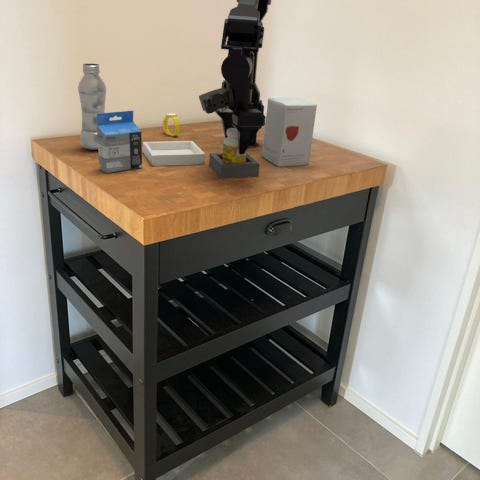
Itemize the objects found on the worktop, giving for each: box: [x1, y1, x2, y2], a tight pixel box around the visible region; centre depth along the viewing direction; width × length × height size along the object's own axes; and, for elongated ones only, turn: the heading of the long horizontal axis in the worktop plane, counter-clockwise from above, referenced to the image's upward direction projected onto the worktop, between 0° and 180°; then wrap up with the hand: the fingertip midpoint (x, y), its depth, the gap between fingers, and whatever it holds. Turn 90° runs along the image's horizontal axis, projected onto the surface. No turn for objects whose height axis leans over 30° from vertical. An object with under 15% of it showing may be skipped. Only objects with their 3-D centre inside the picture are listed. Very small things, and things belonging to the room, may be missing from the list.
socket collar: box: [208, 152, 260, 179], centre depth 121 cm, size 9×9×3 cm
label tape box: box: [97, 110, 143, 174], centre depth 114 cm, size 9×4×12 cm, turn 129°
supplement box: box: [261, 97, 318, 168], centre depth 128 cm, size 9×9×15 cm
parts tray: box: [142, 140, 206, 167], centre depth 126 cm, size 13×12×2 cm
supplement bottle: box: [222, 128, 247, 163], centre depth 119 cm, size 5×5×10 cm
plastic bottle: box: [77, 62, 107, 151], centre depth 125 cm, size 6×7×20 cm
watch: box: [162, 112, 181, 137], centre depth 145 cm, size 6×3×6 cm, turn 44°
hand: (234, 148), depth 119 cm, fingers open, 9 cm apart
